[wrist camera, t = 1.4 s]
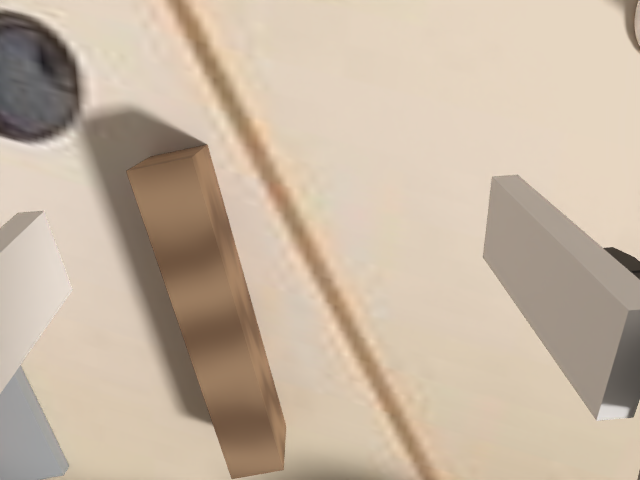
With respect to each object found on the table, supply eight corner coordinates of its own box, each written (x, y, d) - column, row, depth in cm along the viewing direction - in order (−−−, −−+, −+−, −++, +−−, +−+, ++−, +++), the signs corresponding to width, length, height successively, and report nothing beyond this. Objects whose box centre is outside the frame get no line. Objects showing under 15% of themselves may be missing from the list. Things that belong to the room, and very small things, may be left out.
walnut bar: (286, 423, 42) (283, 469, 37) (240, 432, 42) (231, 479, 37) (208, 143, 33) (191, 157, 29) (151, 155, 34) (126, 171, 29)
